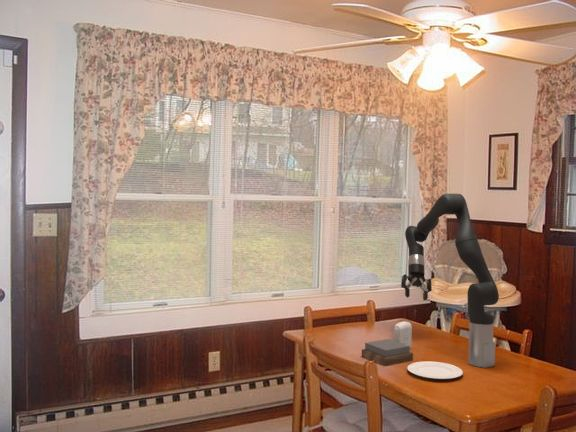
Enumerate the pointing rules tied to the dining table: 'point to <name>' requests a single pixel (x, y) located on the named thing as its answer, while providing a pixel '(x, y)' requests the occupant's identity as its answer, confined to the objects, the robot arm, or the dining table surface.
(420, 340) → the dining table surface
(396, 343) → the top brick
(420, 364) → the plate
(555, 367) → the dining table surface
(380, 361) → the base brick
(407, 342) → the photo printer
